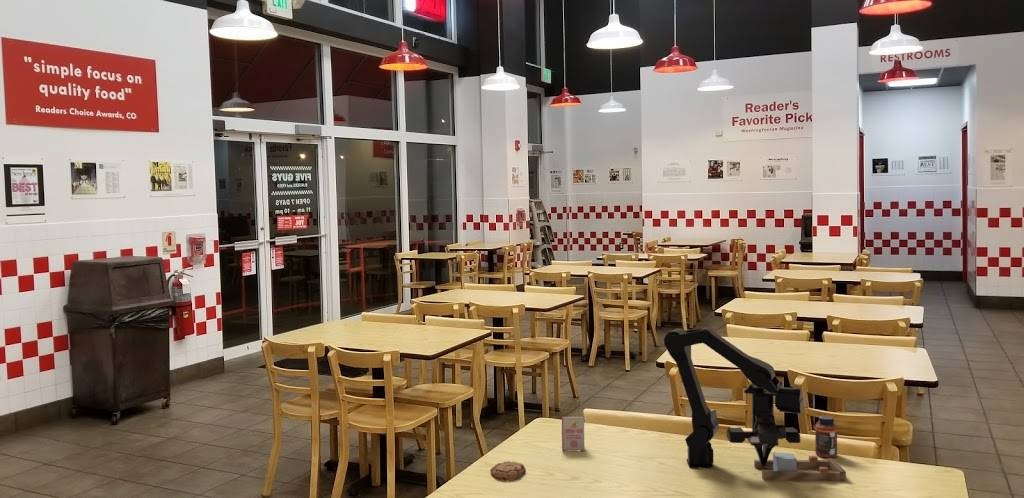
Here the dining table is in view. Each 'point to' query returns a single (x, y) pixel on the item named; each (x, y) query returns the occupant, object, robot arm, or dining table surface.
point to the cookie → (508, 470)
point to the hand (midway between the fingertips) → (763, 465)
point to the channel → (813, 463)
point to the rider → (784, 462)
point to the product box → (572, 433)
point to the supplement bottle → (826, 437)
